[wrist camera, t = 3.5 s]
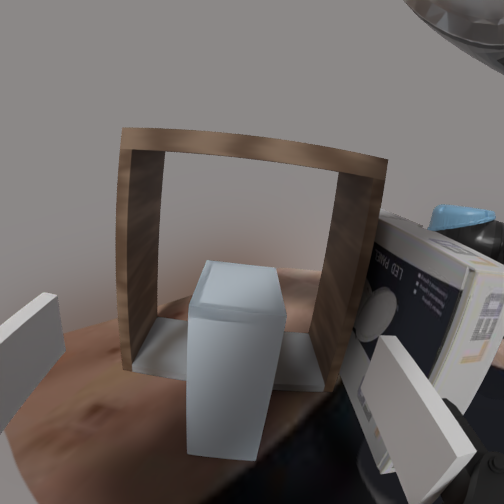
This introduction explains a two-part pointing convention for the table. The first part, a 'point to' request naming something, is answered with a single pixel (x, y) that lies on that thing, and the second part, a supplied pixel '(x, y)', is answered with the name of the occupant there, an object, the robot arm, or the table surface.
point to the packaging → (425, 316)
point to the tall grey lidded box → (232, 358)
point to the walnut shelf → (333, 273)
